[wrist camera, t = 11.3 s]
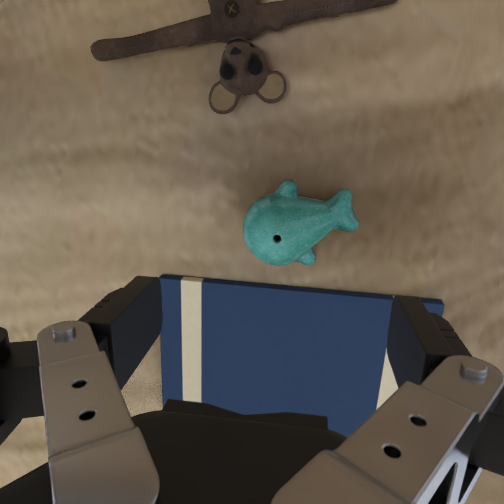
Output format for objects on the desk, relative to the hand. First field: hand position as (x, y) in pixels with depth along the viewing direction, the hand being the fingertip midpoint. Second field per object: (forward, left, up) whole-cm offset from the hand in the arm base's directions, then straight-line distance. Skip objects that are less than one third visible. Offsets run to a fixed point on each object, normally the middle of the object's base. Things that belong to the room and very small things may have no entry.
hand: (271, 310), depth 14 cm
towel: (+11, +1, -14) cm, 18 cm away
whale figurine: (0, +1, -15) cm, 15 cm away
